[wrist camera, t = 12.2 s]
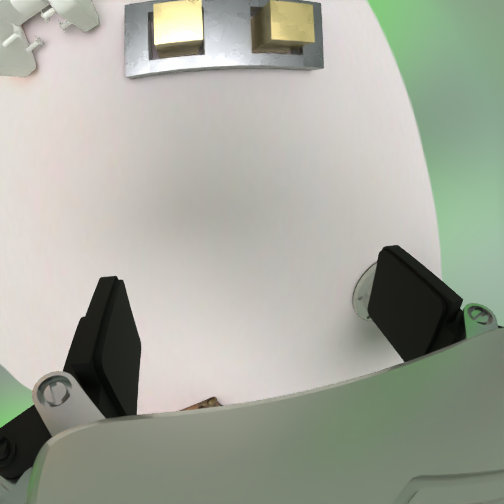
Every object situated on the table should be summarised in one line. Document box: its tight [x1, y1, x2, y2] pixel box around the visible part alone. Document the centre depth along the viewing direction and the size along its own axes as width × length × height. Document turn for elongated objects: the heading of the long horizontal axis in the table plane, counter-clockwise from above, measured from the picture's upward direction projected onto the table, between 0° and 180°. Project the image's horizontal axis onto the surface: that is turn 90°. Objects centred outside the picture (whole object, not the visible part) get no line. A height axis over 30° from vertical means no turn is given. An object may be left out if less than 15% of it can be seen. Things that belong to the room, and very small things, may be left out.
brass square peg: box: [153, 0, 203, 58], centre depth 23 cm, size 4×4×8 cm
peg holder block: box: [125, 0, 324, 79], centre depth 24 cm, size 20×8×8 cm, turn 92°
